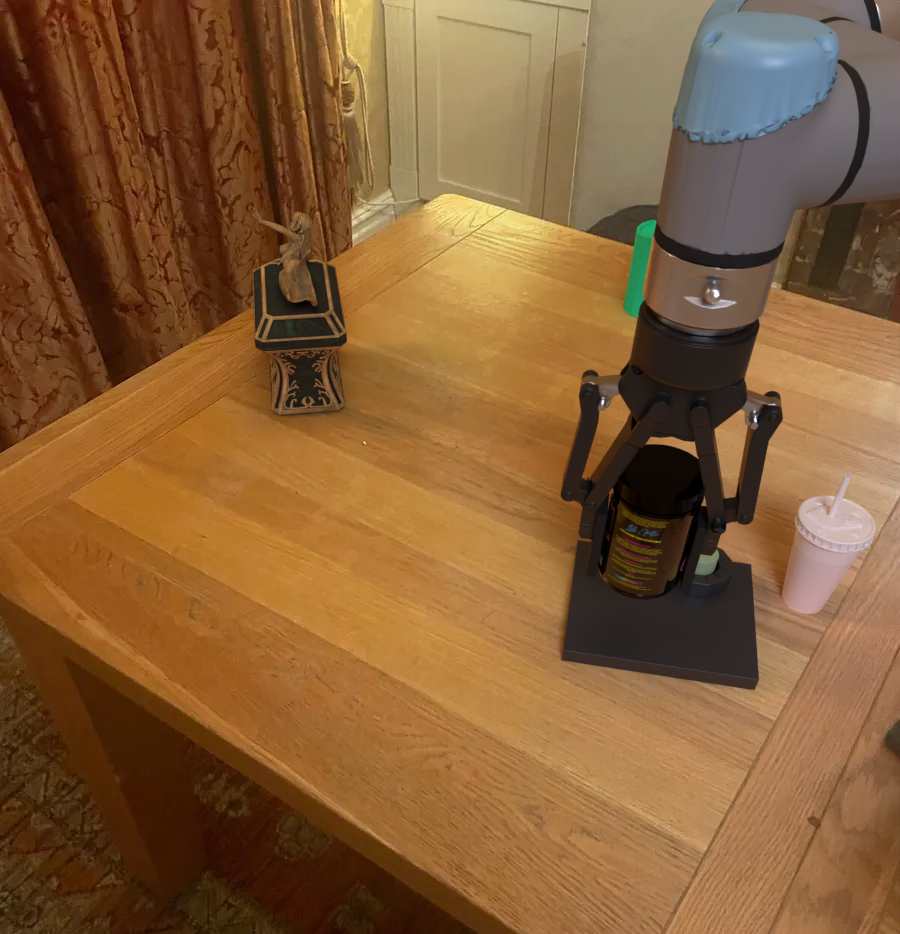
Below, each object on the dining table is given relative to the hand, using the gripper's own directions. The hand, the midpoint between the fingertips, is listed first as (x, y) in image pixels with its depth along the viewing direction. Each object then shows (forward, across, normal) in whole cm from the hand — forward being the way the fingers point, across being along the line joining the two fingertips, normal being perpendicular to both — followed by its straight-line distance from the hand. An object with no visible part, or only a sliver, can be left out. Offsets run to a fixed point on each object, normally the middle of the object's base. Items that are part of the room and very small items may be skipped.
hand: (638, 571), depth 73 cm
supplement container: (+1, 0, 0) cm, 1 cm away
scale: (+8, +3, +3) cm, 9 cm away
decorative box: (+8, -38, +31) cm, 50 cm away
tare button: (+5, +6, +7) cm, 11 cm away
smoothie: (+8, +16, +8) cm, 19 cm away
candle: (+8, 0, +59) cm, 60 cm away
